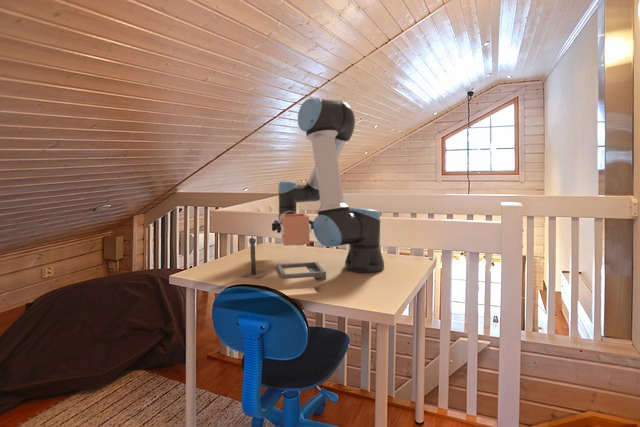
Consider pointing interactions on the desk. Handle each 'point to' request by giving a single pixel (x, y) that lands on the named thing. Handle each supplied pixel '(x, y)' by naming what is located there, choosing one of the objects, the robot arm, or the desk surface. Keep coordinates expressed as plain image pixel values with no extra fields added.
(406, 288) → the desk surface
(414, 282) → the desk surface
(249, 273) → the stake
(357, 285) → the desk surface
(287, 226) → the orange block
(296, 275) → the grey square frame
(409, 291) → the desk surface
